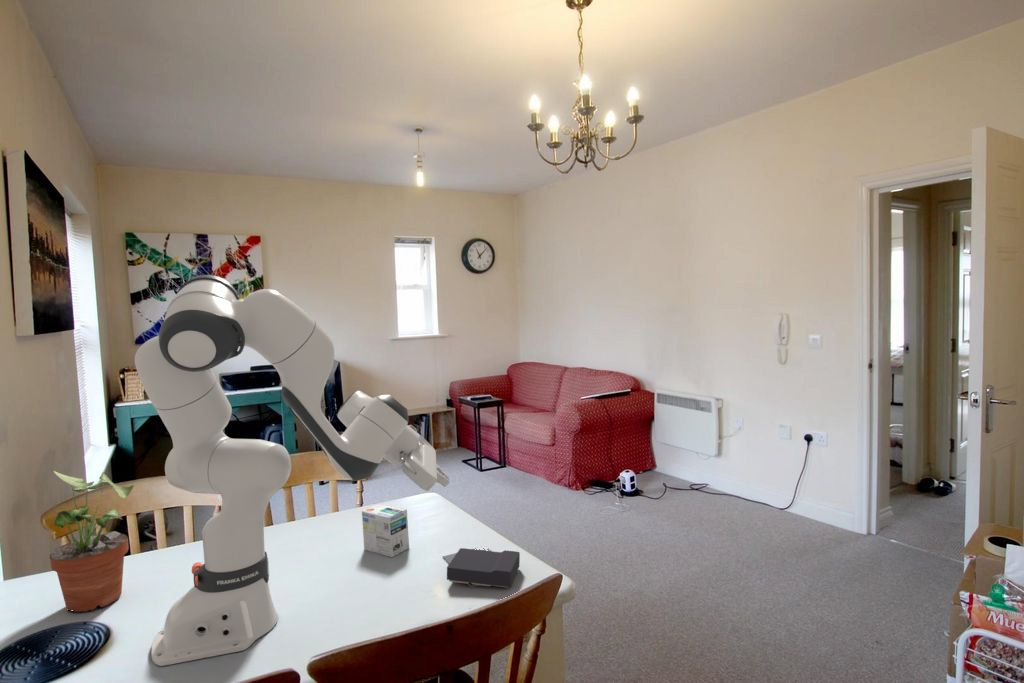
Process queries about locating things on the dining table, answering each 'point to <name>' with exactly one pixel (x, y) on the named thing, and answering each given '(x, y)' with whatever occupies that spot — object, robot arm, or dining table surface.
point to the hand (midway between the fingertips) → (447, 482)
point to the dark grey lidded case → (484, 567)
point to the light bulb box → (385, 530)
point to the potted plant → (90, 554)
